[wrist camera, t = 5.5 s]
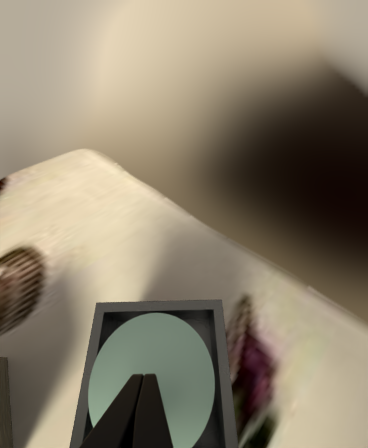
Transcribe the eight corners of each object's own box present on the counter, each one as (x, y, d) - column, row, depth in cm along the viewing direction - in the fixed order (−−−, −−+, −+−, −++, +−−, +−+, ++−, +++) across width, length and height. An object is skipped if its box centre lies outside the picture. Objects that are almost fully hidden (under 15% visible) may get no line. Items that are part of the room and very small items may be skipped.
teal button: (214, 445, 10) (221, 467, 8) (97, 448, 10) (74, 471, 8) (205, 320, 13) (209, 311, 11) (115, 322, 13) (100, 314, 11)
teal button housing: (217, 432, 15) (242, 485, 9) (116, 434, 15) (61, 489, 8) (209, 322, 19) (221, 299, 12) (128, 324, 19) (96, 302, 12)
